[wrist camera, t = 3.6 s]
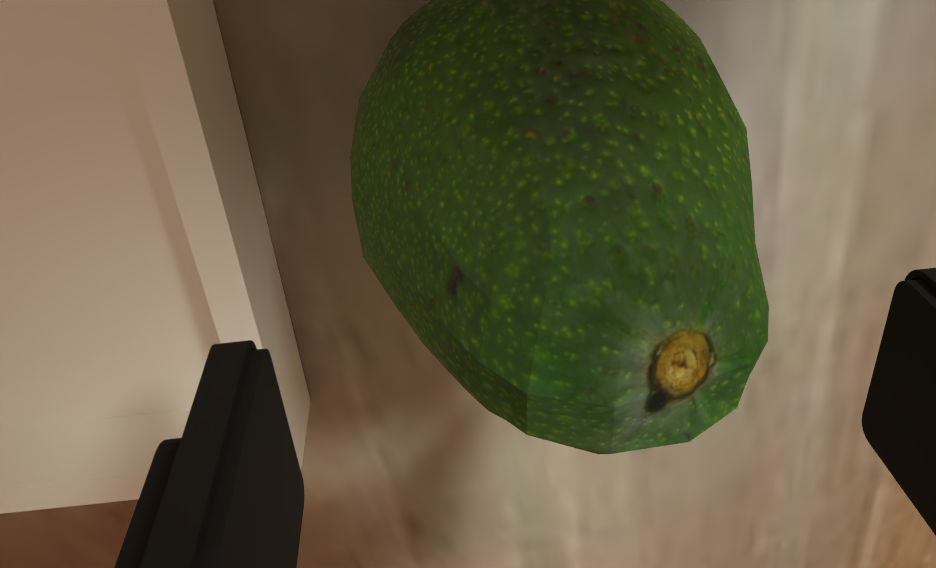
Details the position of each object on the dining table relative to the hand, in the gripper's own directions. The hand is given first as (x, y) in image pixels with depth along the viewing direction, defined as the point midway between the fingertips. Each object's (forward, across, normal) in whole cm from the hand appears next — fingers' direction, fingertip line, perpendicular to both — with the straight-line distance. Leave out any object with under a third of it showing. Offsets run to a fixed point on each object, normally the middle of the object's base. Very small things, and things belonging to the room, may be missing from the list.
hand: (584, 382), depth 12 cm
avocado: (+11, 0, -1) cm, 11 cm away
